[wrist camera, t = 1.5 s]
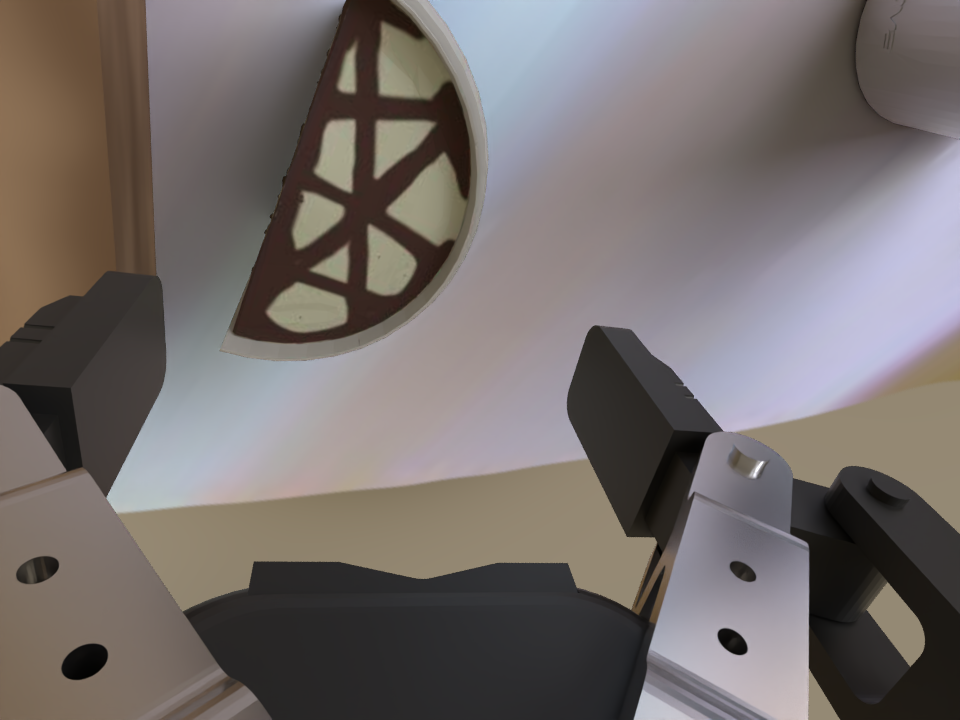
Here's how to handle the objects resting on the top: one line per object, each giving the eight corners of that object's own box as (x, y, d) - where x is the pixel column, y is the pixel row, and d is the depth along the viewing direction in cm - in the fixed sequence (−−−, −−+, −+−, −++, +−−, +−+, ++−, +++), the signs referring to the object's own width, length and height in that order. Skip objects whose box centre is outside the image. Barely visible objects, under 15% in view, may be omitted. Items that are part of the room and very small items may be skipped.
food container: (389, 297, 29) (397, 420, 21) (262, 249, 27) (214, 365, 19) (507, 43, 24) (581, 68, 16) (364, -42, 22) (361, -64, 14)
